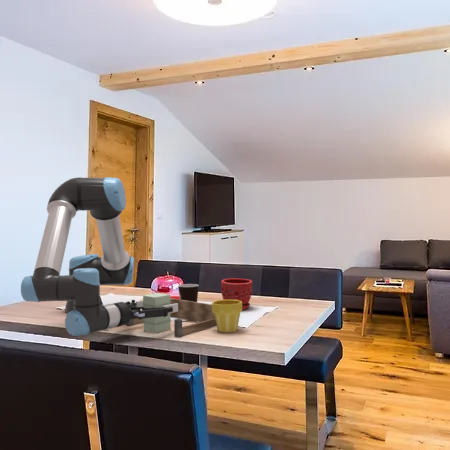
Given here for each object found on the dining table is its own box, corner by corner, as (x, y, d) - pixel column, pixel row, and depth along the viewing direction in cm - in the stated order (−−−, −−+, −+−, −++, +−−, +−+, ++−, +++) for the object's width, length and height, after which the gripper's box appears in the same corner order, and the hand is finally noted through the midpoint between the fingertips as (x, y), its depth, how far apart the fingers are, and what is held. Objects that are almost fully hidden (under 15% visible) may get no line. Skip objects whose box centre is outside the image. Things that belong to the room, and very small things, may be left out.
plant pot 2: (211, 327, 162) (211, 299, 162) (240, 326, 163) (240, 298, 162) (213, 334, 151) (212, 305, 151) (244, 333, 152) (244, 304, 152)
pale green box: (143, 330, 158) (142, 295, 158) (158, 326, 163) (158, 292, 163) (155, 333, 154) (154, 297, 154) (170, 329, 160) (170, 294, 159)
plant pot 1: (216, 310, 190) (216, 281, 190) (228, 304, 202) (228, 277, 202) (246, 312, 185) (246, 283, 185) (256, 306, 197) (256, 278, 197)
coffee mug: (196, 311, 188) (195, 287, 188) (175, 310, 190) (175, 286, 190) (203, 306, 199) (202, 283, 199) (183, 305, 201) (183, 282, 201)
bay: (126, 325, 165) (125, 306, 165) (168, 315, 181) (168, 297, 181) (178, 337, 148) (178, 315, 148) (219, 325, 164) (219, 305, 164)
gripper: (91, 321, 153) (140, 311, 169) (139, 333, 137) (189, 320, 153) (90, 299, 153) (140, 290, 169) (139, 308, 137) (189, 298, 153)
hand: (163, 304), depth 161 cm, fingers open, 13 cm apart
